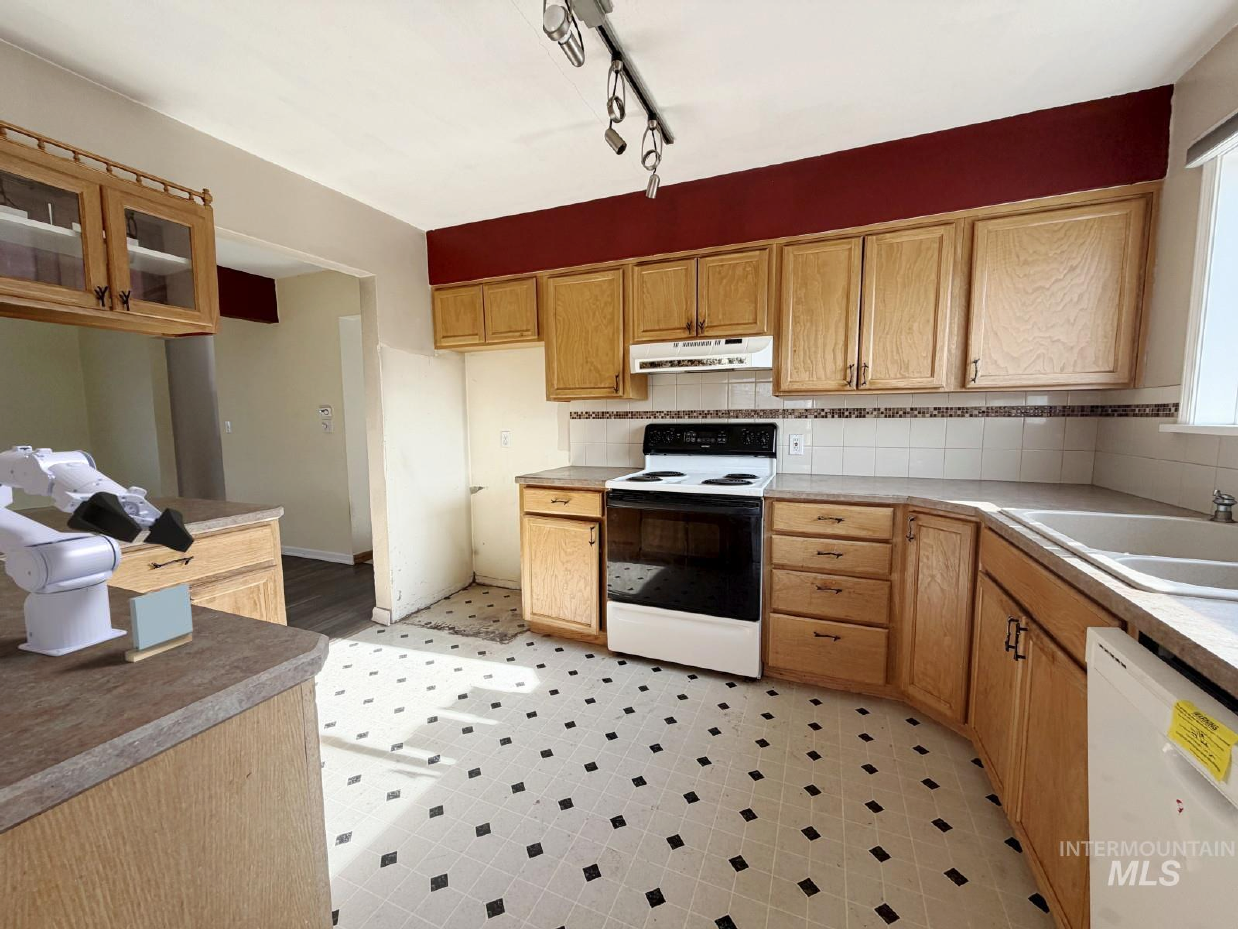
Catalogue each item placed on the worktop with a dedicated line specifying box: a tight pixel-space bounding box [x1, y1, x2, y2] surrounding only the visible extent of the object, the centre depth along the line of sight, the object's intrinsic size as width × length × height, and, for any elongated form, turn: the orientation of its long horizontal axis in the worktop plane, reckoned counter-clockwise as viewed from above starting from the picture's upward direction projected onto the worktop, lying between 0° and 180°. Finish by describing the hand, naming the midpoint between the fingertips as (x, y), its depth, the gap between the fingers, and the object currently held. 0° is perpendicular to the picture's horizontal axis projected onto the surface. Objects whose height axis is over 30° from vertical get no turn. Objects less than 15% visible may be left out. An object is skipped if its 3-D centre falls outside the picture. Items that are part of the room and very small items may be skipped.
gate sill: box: [124, 632, 193, 663], centre depth 70 cm, size 2×7×1 cm, turn 163°
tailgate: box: [128, 583, 194, 652], centre depth 69 cm, size 1×6×7 cm, turn 163°
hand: (162, 541), depth 67 cm, fingers open, 7 cm apart
